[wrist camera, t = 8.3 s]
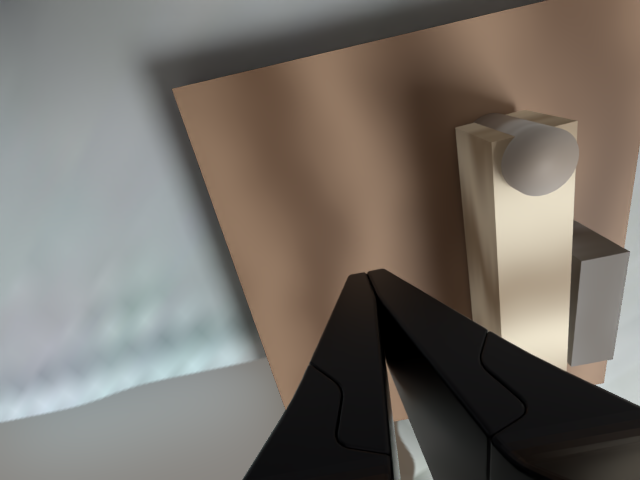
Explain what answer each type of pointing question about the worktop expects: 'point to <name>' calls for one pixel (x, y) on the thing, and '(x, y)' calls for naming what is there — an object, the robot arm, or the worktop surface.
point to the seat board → (415, 166)
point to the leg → (520, 226)
